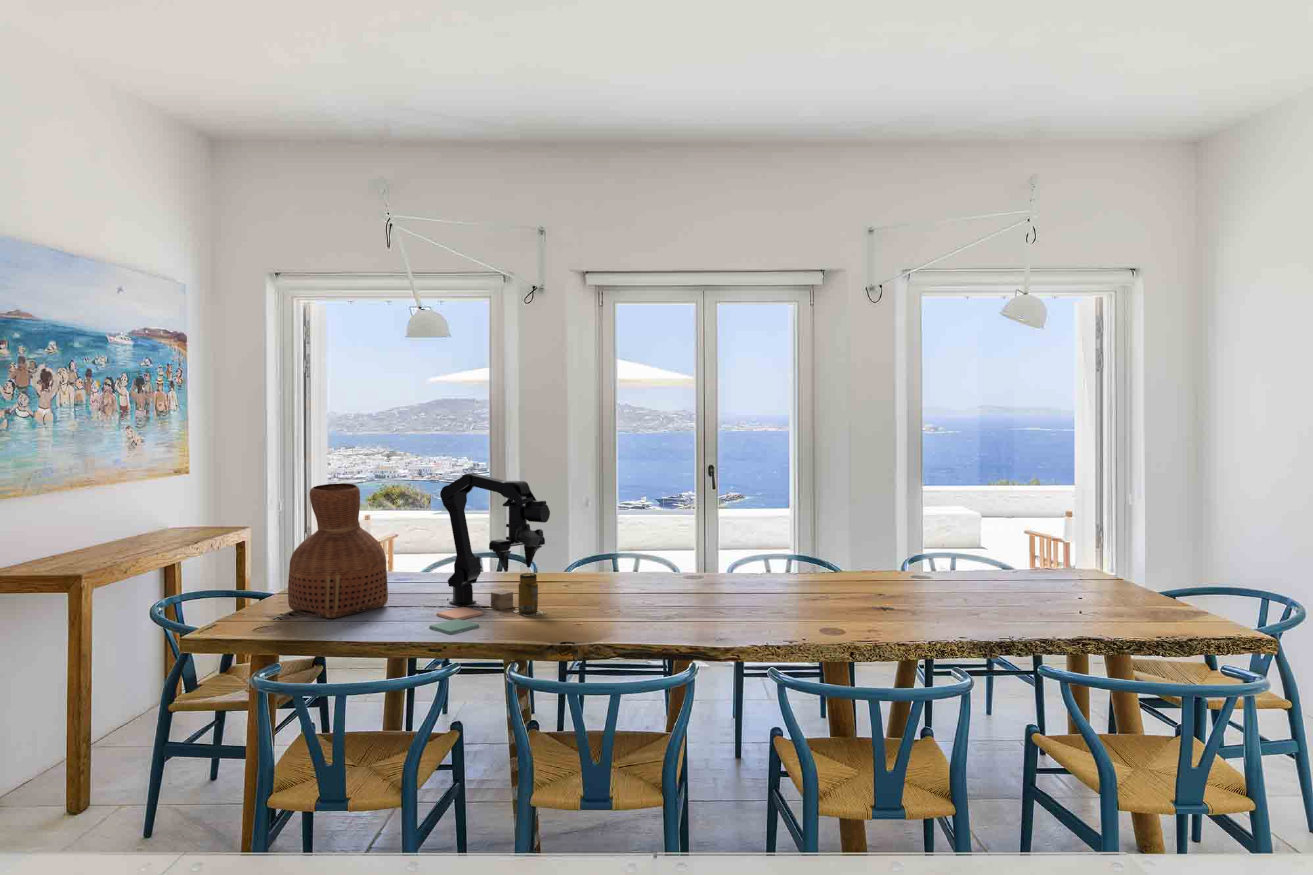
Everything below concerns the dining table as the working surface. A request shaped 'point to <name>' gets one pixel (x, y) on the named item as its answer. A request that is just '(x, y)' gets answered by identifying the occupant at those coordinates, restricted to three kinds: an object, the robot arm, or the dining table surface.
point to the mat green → (454, 626)
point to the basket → (337, 559)
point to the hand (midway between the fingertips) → (517, 569)
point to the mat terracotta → (459, 613)
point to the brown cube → (501, 599)
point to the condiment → (528, 595)
